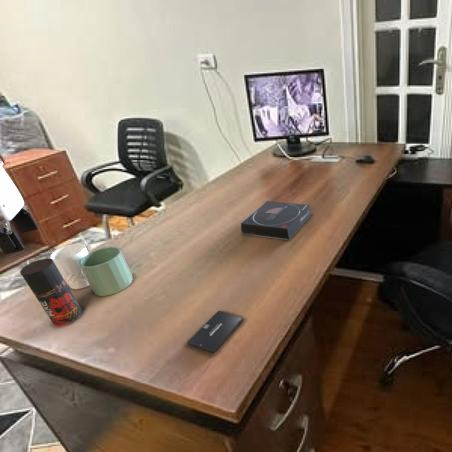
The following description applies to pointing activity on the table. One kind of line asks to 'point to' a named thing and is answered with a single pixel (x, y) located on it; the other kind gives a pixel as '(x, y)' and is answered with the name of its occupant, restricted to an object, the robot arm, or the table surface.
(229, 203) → the table surface
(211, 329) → the solid state drive
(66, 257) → the white cup
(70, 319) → the deodorant
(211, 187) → the table surface
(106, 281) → the pen holder
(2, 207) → the robot arm
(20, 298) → the table surface
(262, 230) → the portable cd player
